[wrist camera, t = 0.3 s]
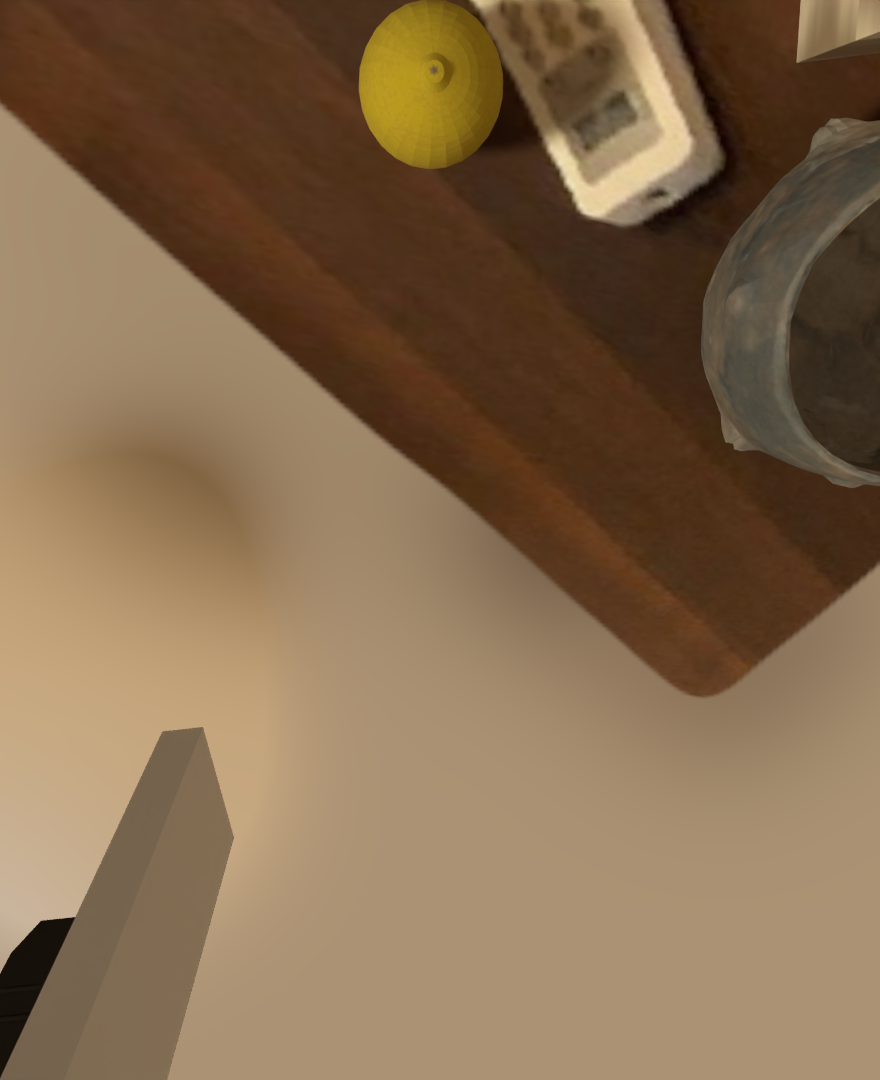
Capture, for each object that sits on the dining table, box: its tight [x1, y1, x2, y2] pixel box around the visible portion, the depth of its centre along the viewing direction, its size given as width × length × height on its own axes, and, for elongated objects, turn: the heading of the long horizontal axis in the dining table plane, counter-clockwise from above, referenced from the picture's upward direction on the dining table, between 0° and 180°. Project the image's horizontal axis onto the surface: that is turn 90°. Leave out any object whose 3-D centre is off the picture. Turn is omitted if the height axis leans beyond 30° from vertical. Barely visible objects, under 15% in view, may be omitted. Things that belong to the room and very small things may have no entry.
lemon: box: [359, 0, 503, 169], centre depth 29 cm, size 6×6×8 cm
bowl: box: [701, 118, 880, 488], centre depth 32 cm, size 14×15×10 cm
